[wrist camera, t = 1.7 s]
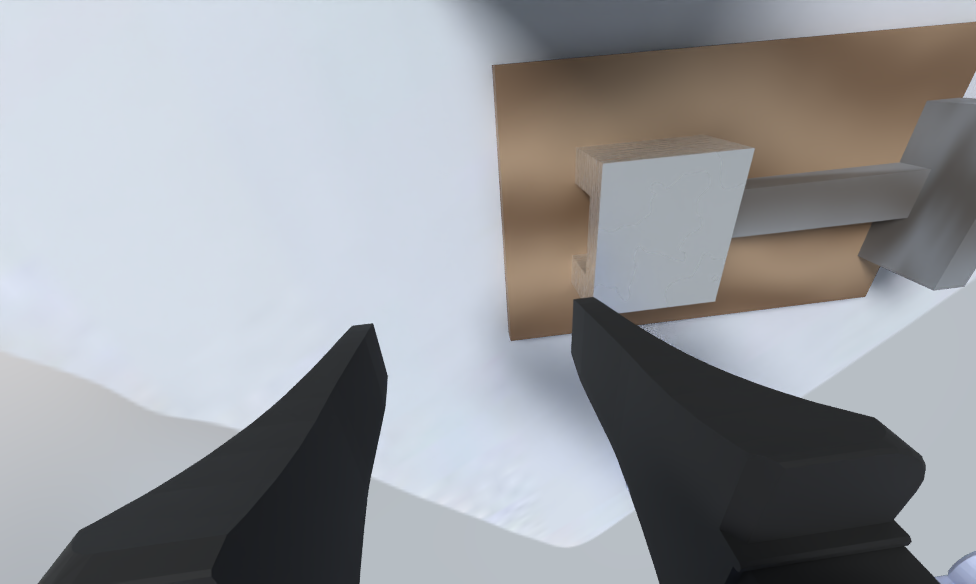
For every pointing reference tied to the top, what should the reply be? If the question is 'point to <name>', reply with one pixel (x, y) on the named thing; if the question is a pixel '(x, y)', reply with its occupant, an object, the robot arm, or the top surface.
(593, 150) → the block
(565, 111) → the slide rail board
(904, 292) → the top surface
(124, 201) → the top surface
